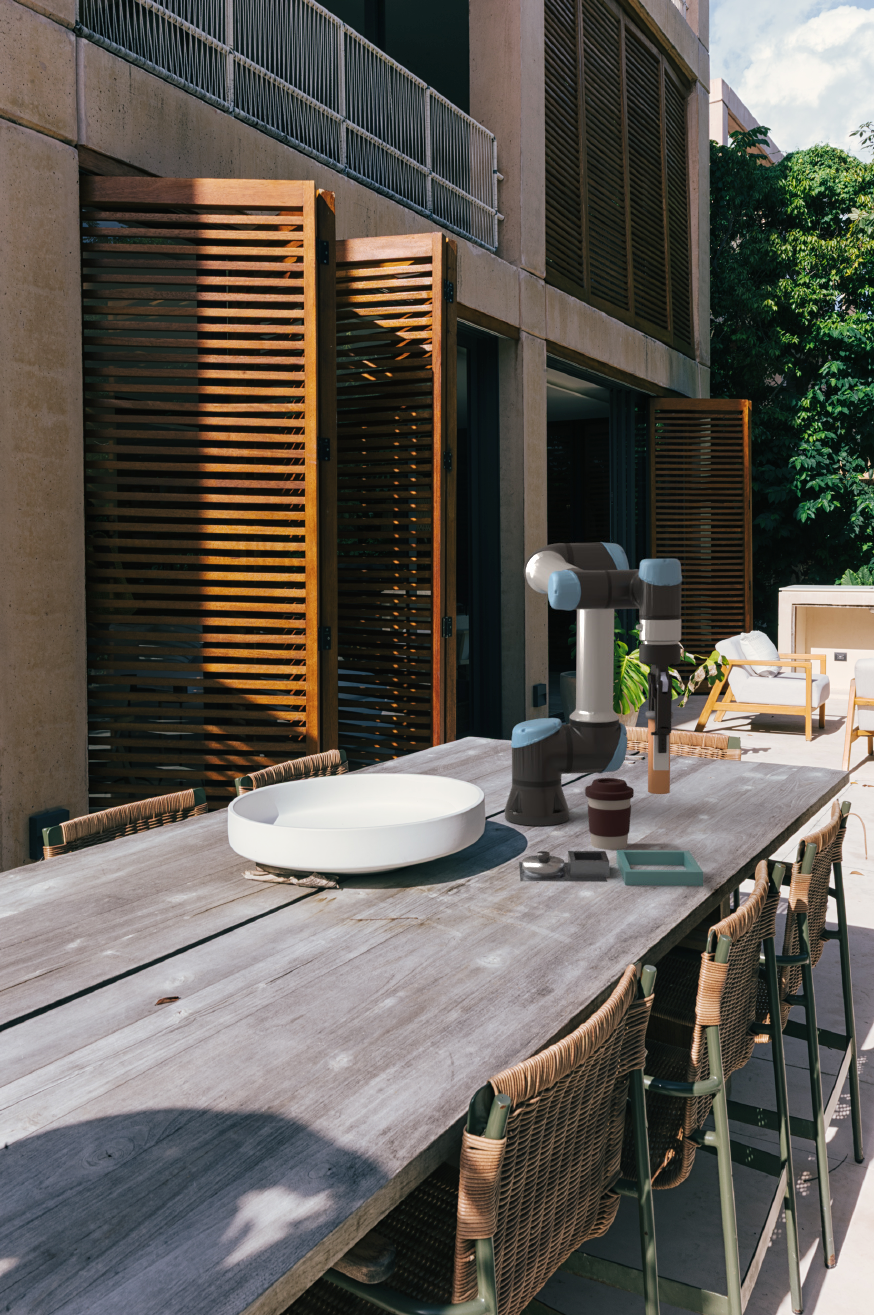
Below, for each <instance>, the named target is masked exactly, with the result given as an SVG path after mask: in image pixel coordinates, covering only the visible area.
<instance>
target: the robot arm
mask: <svg viewBox="0 0 874 1315" xmlns="http://www.w3.org/2000/svg"><path fill="white" fill-rule="evenodd" d="M523 578H524V580H525V583H526V584H527V585H528V586H529V587H530V588H531V589H532V590H534V591H535V592H537V593H539V594H543V595H546V594H547V596H548V601H549V605H550V606H551V608H552V609H554V610H562V611H563V610H564V611H573V610H576V673H575V674H576V675H575V676H576V680H575V683H576V684H575V686H576V687H575V688H576V690H575V691H576V692H575V693H576V694H575V698H576V699H575V709H574V711H573V712H572V713H570V714H569V722H568V724H563V722H562V720H561V719H560V718H556V717H548V718H547V717H545V718H544V717H542V718H536V719H530V720H526V721H522V722H520V723H517V724H516V725H515V726H514V727H513V729H512V733H511V734H512V735H511V742H510V747H511V788H510V791H509V795H508V798H507V801H506V805H505V807H504V819H505V820H506V821H507V822H509V823H513V824H516V825H523V826H535V827H536V826H538V827H541V826H553V825H560V824H562V823H563V824H564V823H565V822H567V821H569V819H570V808H569V805H568V803H567V800H566V796H565V793H564V790H563V787H562V775H570V774H574V775H575V774H598V775H600V774H603V773H604V774H605V773H613V772H617V771H618V770H620V769H621V767H622V765H623V764H624V762H625V759H626V755H627V751H628V750H627V749H628V737H627V735H628V732H627V731H628V730H627V727H626V725H625V724H624V723H622V722H620V716H619V715H618V714H617V713H616V712H615V710H614V660H615V658H614V654H615V653H614V650H615V649H614V648H615V646H614V644H615V643H614V641H615V610H620V609H621V610H624V609H629V610H630V609H639V610H638V611H639V614H638V616H639V618H638V619H639V624H636V626H635V629H636V630H638V631H639V636H638V637H639V640H640V641H641V642H642V643H640V645H638V661H639V663H641V664H642V665H648V666H649V665H650V672H648V673H647V676H646V677H647V679H646V680H647V697H648V698H647V700H648V701H647V704H648V707H647V708H648V709H647V711H655V732H651V735H654V747H653V770H669V733H670V734H672V730H673V729H672V719H671V712H672V694H673V685H674V682H673V676H672V674H671V673H670V671H669V669H670V668H669V666H671V665H678V664H680V663H681V661H682V660H681V656H682V654H681V653H682V652H681V649H682V645H680V643H679V641H681V640H682V616H681V615H682V581H683V576H682V566H681V561H680V560H679V559H678V558H645V559H642V560H641V561H640V562H639V569H638V568H636V569H630V567H629V562H628V558H627V555H626V553H625V550H624V548H623V547H622V546H621V545H620V544H618V543H614V542H613V543H612V542H602V541H600V542H575V543H574V542H573V543H572V542H570V543H565V542H563V543H561V542H558V543H553V544H552V543H551V544H548V545H544V546H542V547H540V548H538V549H536V550H535V551H533V552H532V553H531V554H530V555H529V556H528V557H527V559H526V560H525V562H524V564H523Z"/></svg>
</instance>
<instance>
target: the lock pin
mask: <svg viewBox="0 0 874 1315" xmlns="http://www.w3.org/2000/svg"><path fill="white" fill-rule="evenodd" d="M645 719H647V726H648V728H647V730H648V732H647V734H648V737H647V742H648V744H647V747H648V748H647V792H648V793H649V794H655V795H667V794H670V793H671V733H669V770H653V747H654V735H651V732H655V711H648V710H647V711H645ZM672 719H674V712H673V711H671V720H672Z"/></svg>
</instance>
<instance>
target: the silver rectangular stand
mask: <svg viewBox="0 0 874 1315" xmlns="http://www.w3.org/2000/svg"><path fill="white" fill-rule="evenodd" d="M518 864H519V866H518V867H519V878H520V879H519V882H571V883H572V882H574V883H575V882H576V883H577V882H579V883H580V882H581V883H583V882H584V883H585V882H588V883H590V882H593V883H595V882H596V883H598V882H599V883H600V882H601V883H605V882H608V878H610V860H609V858H608V854H607V851H606V850H567V862H566V861H565V860H564V859H563V858H562V857H559V856H556V855H555V856H554V855H551V854H550V851H545V850H541V851H540V850H539V851H537V852H536V855H529V856H526V857H524V858H522V860H521V861H518Z"/></svg>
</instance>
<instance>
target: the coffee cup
mask: <svg viewBox="0 0 874 1315" xmlns="http://www.w3.org/2000/svg"><path fill="white" fill-rule="evenodd" d="M584 790H585V791H584V796H585V797H586V798H587V800H588V803H587V815H588V817H587V818H588V829H589V830H588V831H589V833H590V841H591V842H590V844H591V847H593V848H597V849H599V850H605V851H606V850H607V851H608V850H609V851H615V850H624V849H625V848H627V847H628V842H629V841H628V840H629V834H630V827H631V826H630V825H631V815H632V814H631V812H632V804H631V800H632V798H633V797H634V795H635V793H634V787H631V786H629V785H628V784H627V781H625V780H624V779H622V778H616V777H615V778H614V777H602V778H601V777H600V778H596V779H593V780H592V783H591V784H590V785H588V786H586V787H585V788H584Z"/></svg>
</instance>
